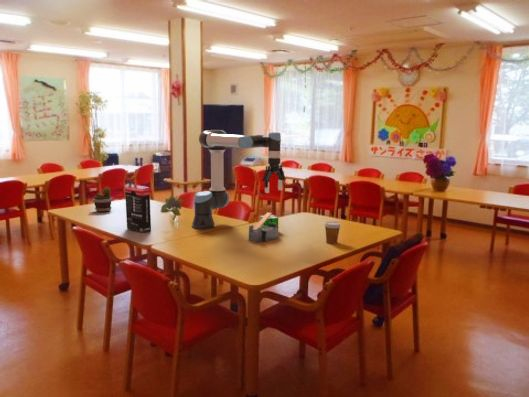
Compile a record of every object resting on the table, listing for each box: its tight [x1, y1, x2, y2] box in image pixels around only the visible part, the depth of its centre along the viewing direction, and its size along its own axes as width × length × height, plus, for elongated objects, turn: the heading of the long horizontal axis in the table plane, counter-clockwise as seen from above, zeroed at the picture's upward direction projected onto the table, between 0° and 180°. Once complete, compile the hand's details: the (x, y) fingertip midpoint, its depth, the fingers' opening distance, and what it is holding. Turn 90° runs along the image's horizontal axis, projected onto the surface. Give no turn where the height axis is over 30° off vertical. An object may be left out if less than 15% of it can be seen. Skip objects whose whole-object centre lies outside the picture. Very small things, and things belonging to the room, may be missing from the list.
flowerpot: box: [92, 186, 114, 213], centre depth 351 cm, size 14×15×20 cm
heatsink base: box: [248, 222, 279, 244], centre depth 279 cm, size 12×19×9 cm, turn 142°
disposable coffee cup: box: [324, 221, 342, 245], centre depth 272 cm, size 10×10×12 cm
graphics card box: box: [124, 187, 152, 233], centre depth 293 cm, size 17×7×27 cm, turn 56°
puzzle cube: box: [258, 214, 279, 229], centre depth 296 cm, size 10×10×10 cm
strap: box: [251, 212, 273, 232], centre depth 277 cm, size 5×17×2 cm
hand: (273, 191), depth 284 cm, fingers open, 13 cm apart
